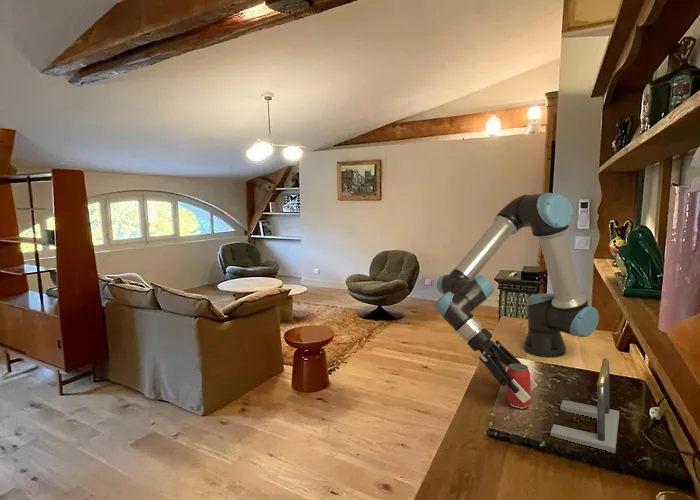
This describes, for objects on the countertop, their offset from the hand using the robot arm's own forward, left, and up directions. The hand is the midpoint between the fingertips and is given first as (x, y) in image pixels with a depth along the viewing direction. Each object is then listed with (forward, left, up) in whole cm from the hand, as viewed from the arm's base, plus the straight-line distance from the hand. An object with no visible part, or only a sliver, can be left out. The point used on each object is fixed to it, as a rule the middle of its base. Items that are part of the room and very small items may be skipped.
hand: (530, 393), depth 120 cm
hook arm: (+4, +19, -4) cm, 20 cm away
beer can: (0, -3, -4) cm, 6 cm away
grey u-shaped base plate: (+4, +15, -4) cm, 16 cm away
